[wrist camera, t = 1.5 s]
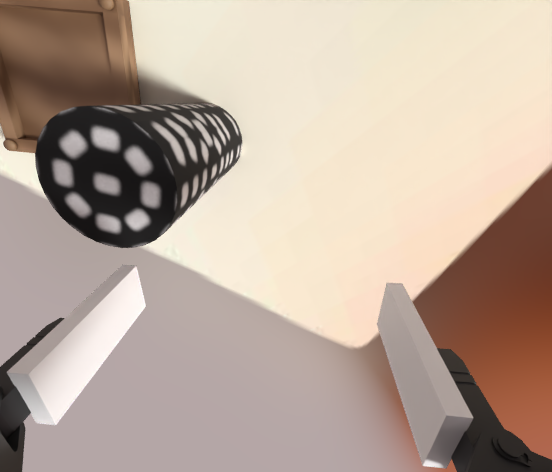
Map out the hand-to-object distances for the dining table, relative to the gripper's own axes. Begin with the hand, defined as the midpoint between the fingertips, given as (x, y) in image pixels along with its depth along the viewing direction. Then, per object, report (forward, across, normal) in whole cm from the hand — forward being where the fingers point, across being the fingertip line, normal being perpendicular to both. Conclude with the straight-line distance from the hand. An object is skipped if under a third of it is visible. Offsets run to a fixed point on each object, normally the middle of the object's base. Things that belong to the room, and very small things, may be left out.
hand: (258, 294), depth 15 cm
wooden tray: (+23, -25, +10) cm, 36 cm away
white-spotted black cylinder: (+23, -9, +4) cm, 26 cm away
